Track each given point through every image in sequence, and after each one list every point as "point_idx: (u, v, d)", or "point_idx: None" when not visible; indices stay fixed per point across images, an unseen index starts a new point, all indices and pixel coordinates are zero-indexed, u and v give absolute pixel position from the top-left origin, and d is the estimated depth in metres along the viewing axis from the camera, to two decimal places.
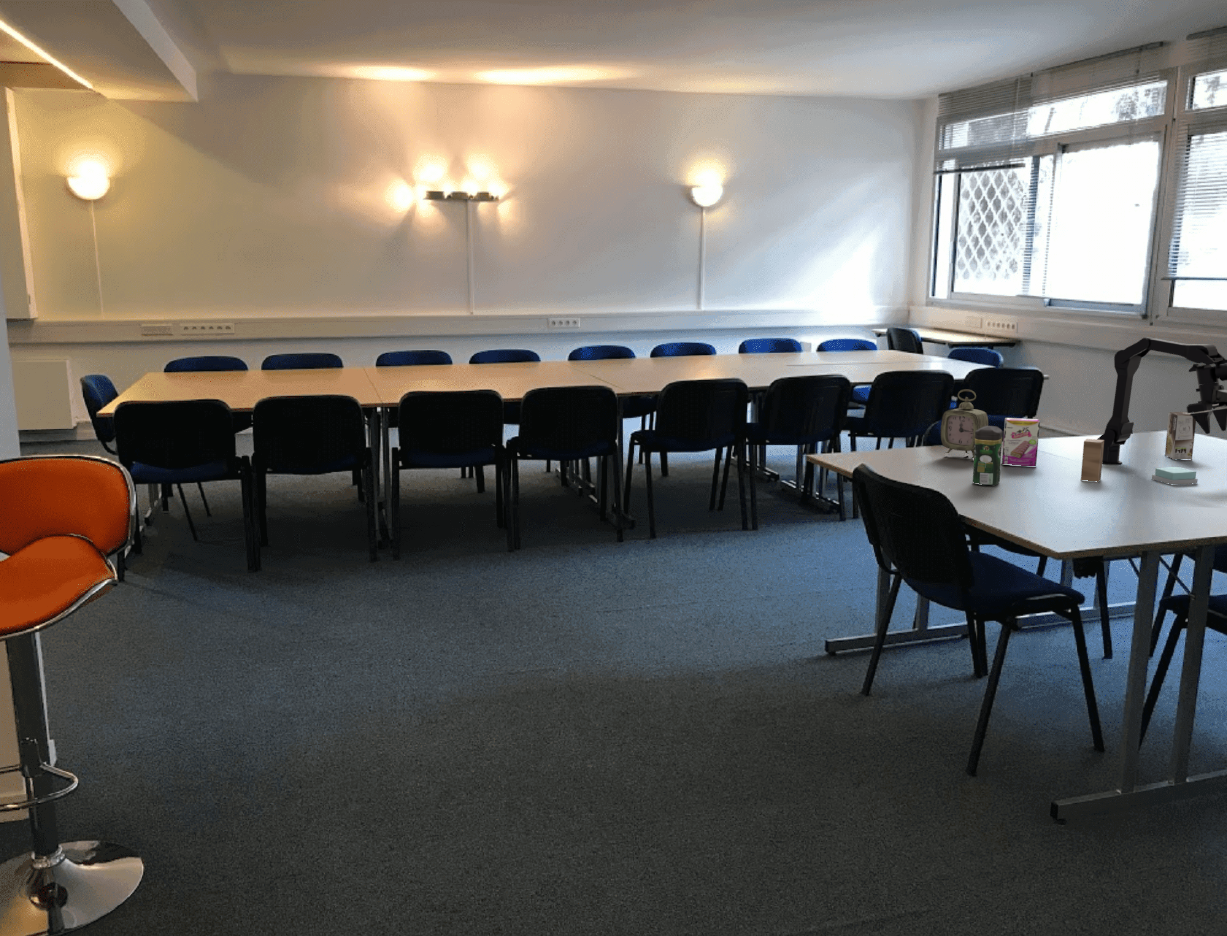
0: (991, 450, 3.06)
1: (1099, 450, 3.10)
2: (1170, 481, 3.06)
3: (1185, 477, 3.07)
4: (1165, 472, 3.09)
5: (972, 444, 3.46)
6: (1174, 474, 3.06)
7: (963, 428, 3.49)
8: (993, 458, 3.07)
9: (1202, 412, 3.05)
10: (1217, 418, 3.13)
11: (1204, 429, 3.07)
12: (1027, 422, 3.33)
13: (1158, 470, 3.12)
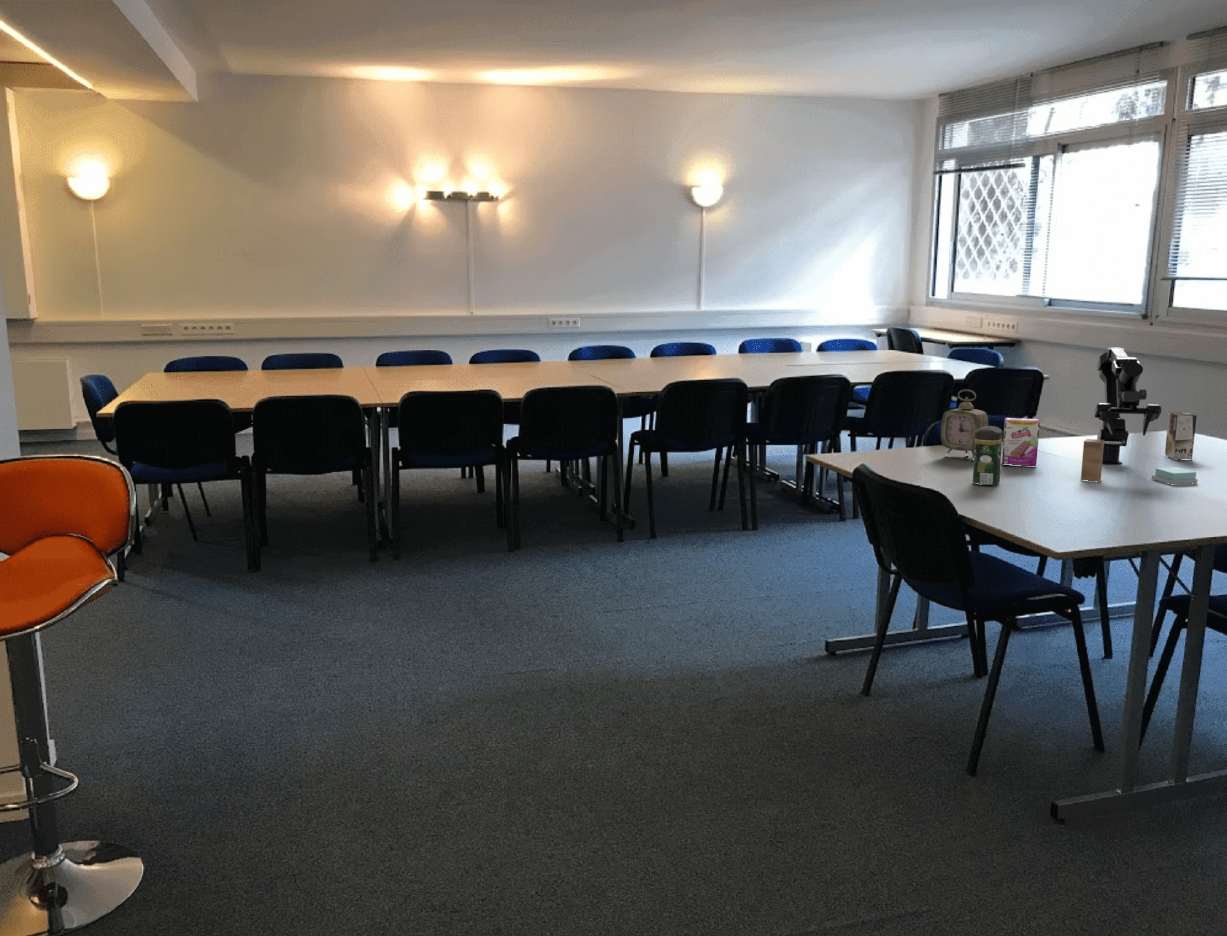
0: (991, 450, 3.06)
1: (1099, 450, 3.10)
2: (1170, 481, 3.06)
3: (1185, 477, 3.07)
4: (1165, 472, 3.09)
5: (972, 444, 3.46)
6: (1174, 474, 3.06)
7: (963, 428, 3.49)
8: (993, 458, 3.07)
9: (1101, 413, 3.17)
10: (1143, 425, 3.15)
11: (1109, 430, 3.16)
12: (1027, 422, 3.33)
13: (1158, 470, 3.12)
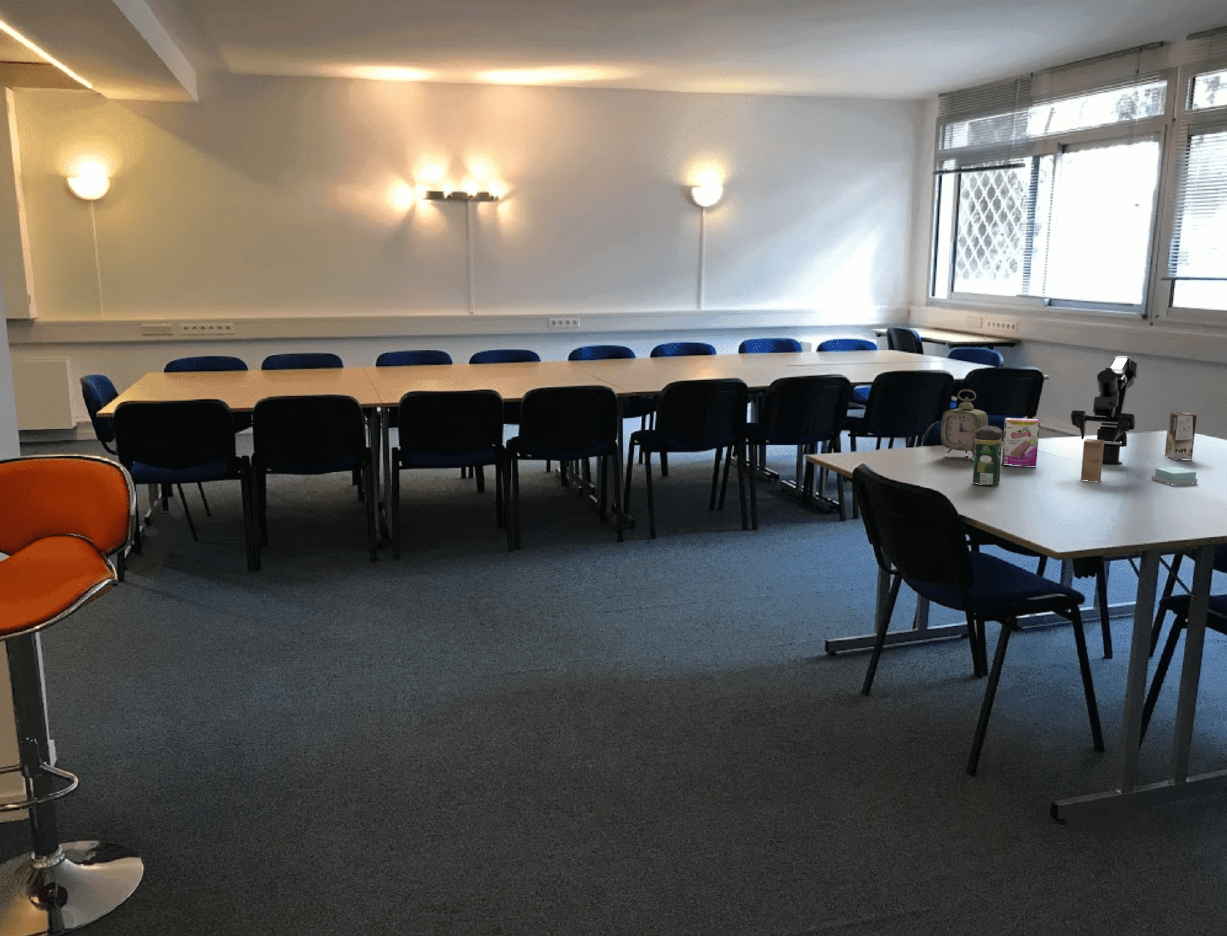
0: (991, 450, 3.06)
1: (1099, 450, 3.10)
2: (1170, 481, 3.06)
3: (1185, 477, 3.07)
4: (1165, 472, 3.09)
5: (972, 444, 3.46)
6: (1174, 474, 3.06)
7: (963, 428, 3.49)
8: (993, 458, 3.07)
9: None
10: None
11: (1081, 435, 3.22)
12: (1027, 422, 3.33)
13: (1158, 470, 3.12)
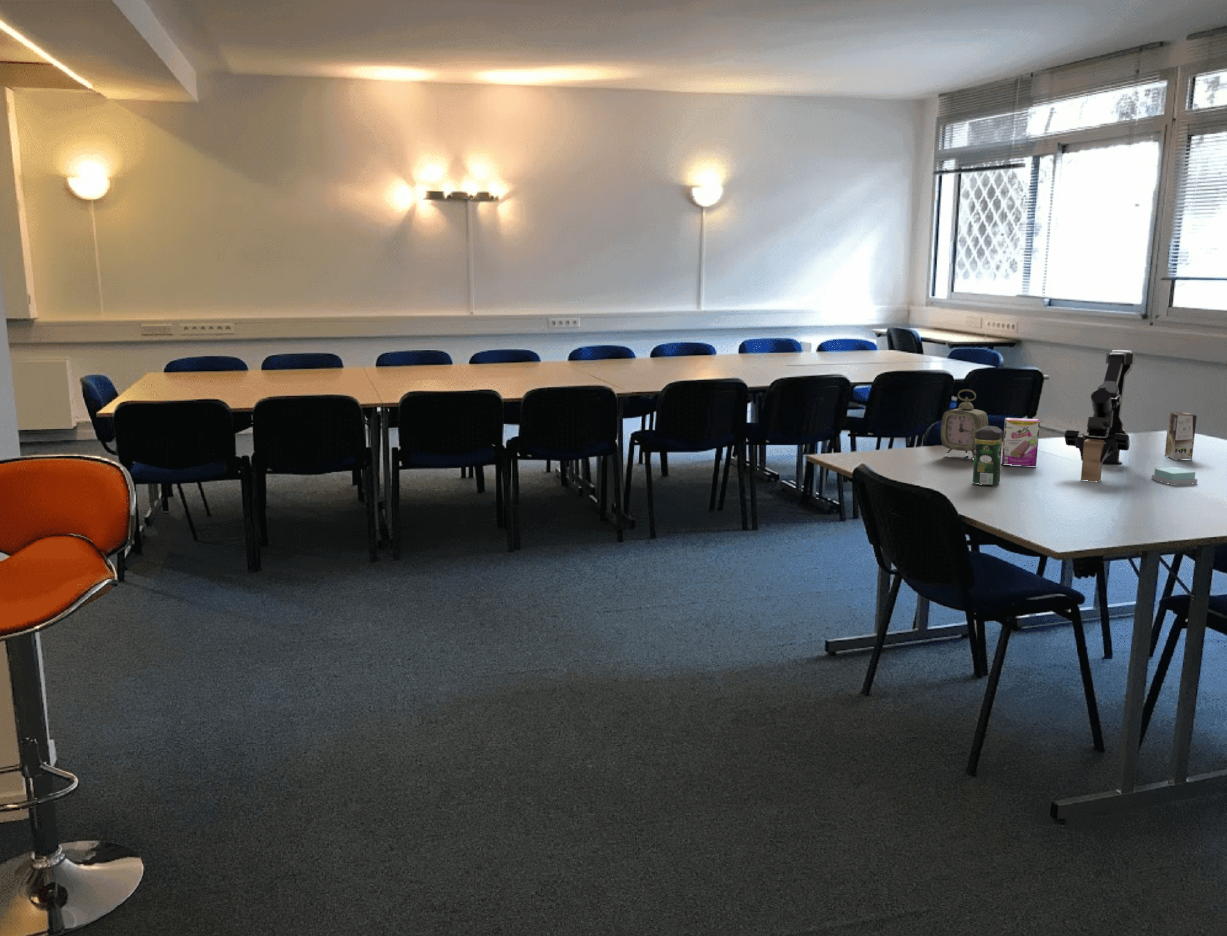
0: (991, 450, 3.06)
1: (1099, 450, 3.10)
2: (1170, 481, 3.06)
3: (1184, 477, 3.07)
4: (1164, 472, 3.09)
5: (972, 444, 3.46)
6: (1174, 474, 3.06)
7: (963, 428, 3.49)
8: (993, 458, 3.07)
9: None
10: None
11: None
12: (1027, 422, 3.33)
13: (1157, 470, 3.12)
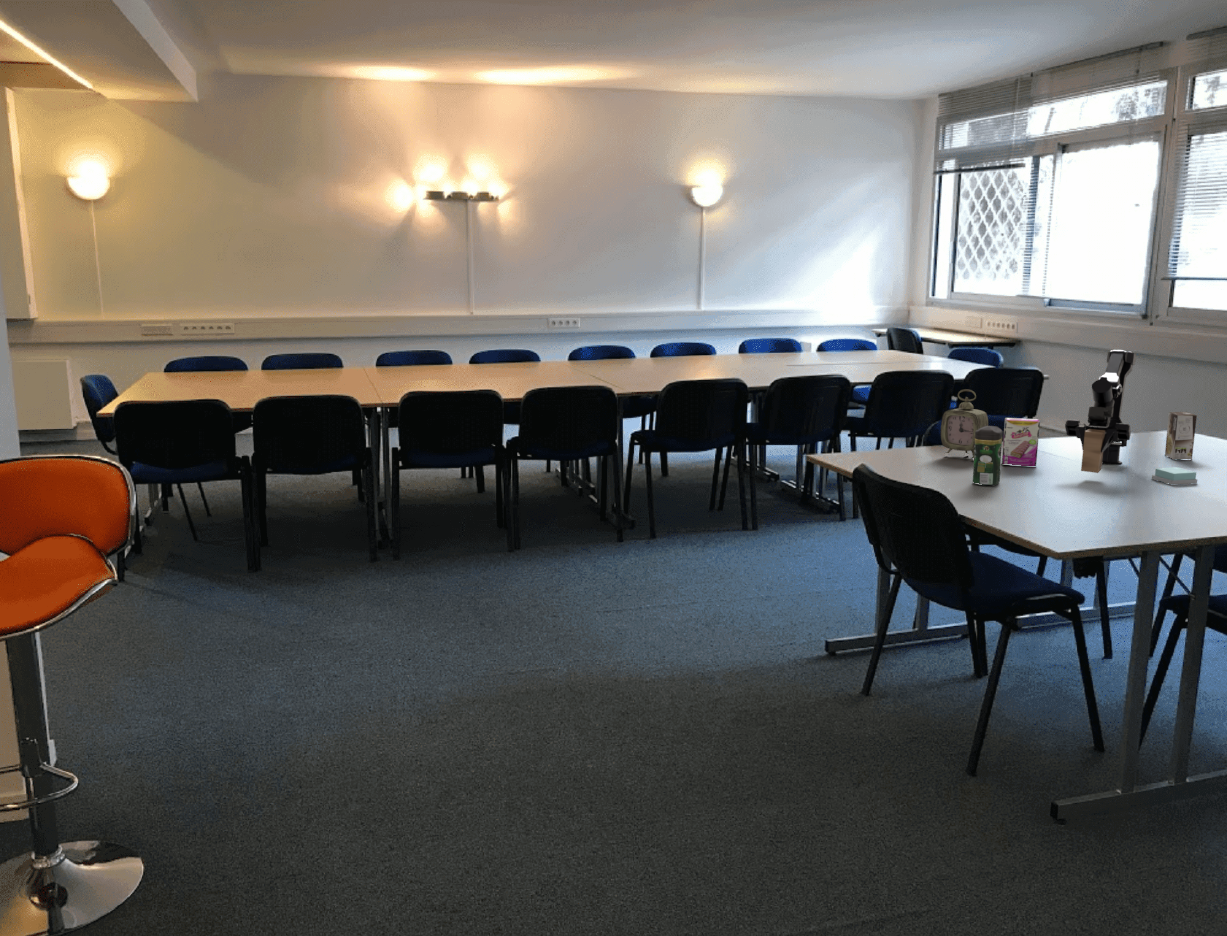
0: (991, 450, 3.06)
1: (1100, 440, 3.09)
2: (1170, 481, 3.07)
3: (1185, 478, 3.07)
4: (1165, 472, 3.09)
5: (972, 444, 3.46)
6: (1175, 475, 3.06)
7: (963, 428, 3.49)
8: (993, 458, 3.07)
9: None
10: None
11: None
12: (1027, 422, 3.33)
13: (1158, 470, 3.12)
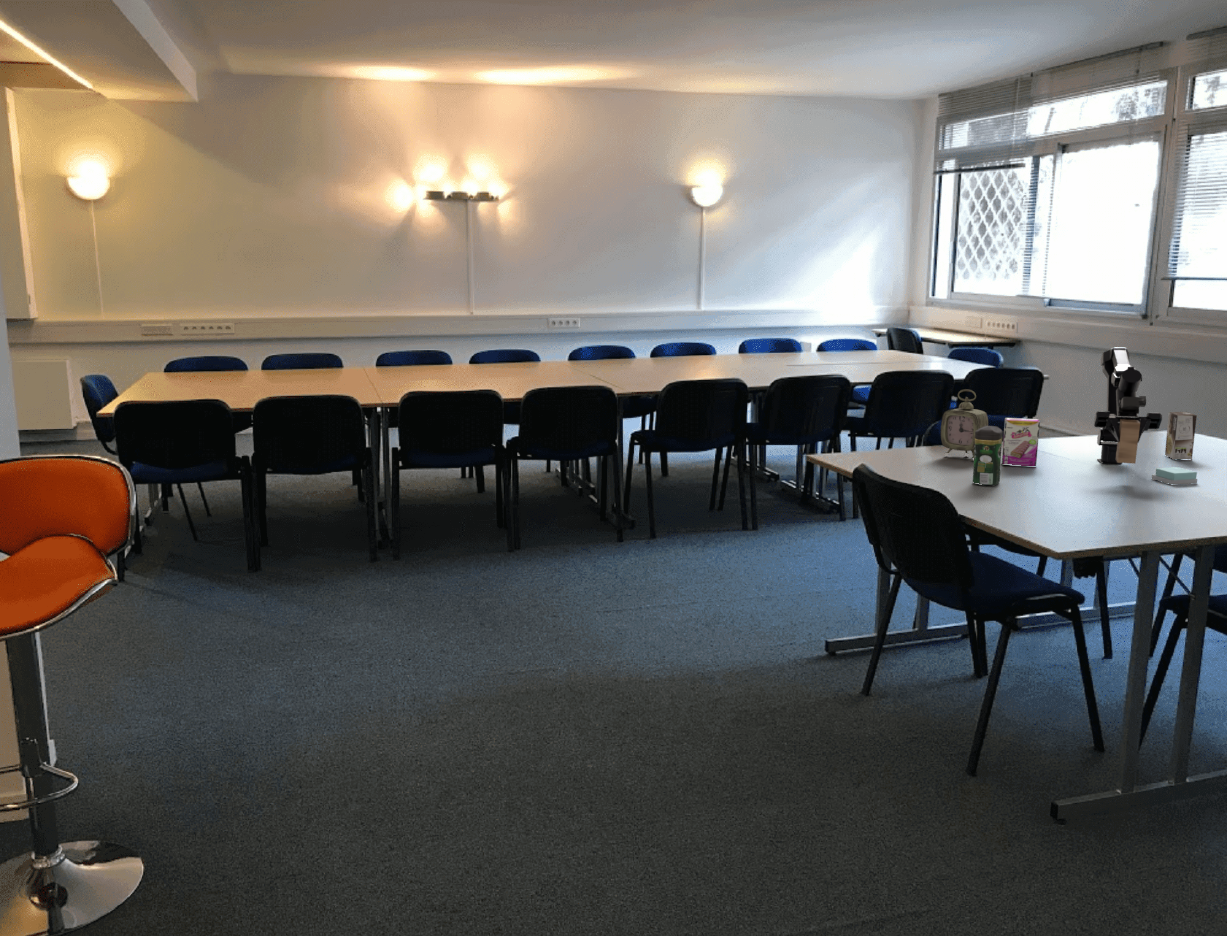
0: (991, 450, 3.06)
1: (1138, 431, 3.05)
2: (1170, 481, 3.06)
3: (1186, 477, 3.07)
4: (1166, 472, 3.09)
5: (972, 444, 3.46)
6: (1175, 474, 3.06)
7: (963, 428, 3.49)
8: (993, 458, 3.07)
9: (1107, 420, 3.12)
10: None
11: (1116, 438, 3.10)
12: (1027, 422, 3.33)
13: (1159, 470, 3.12)
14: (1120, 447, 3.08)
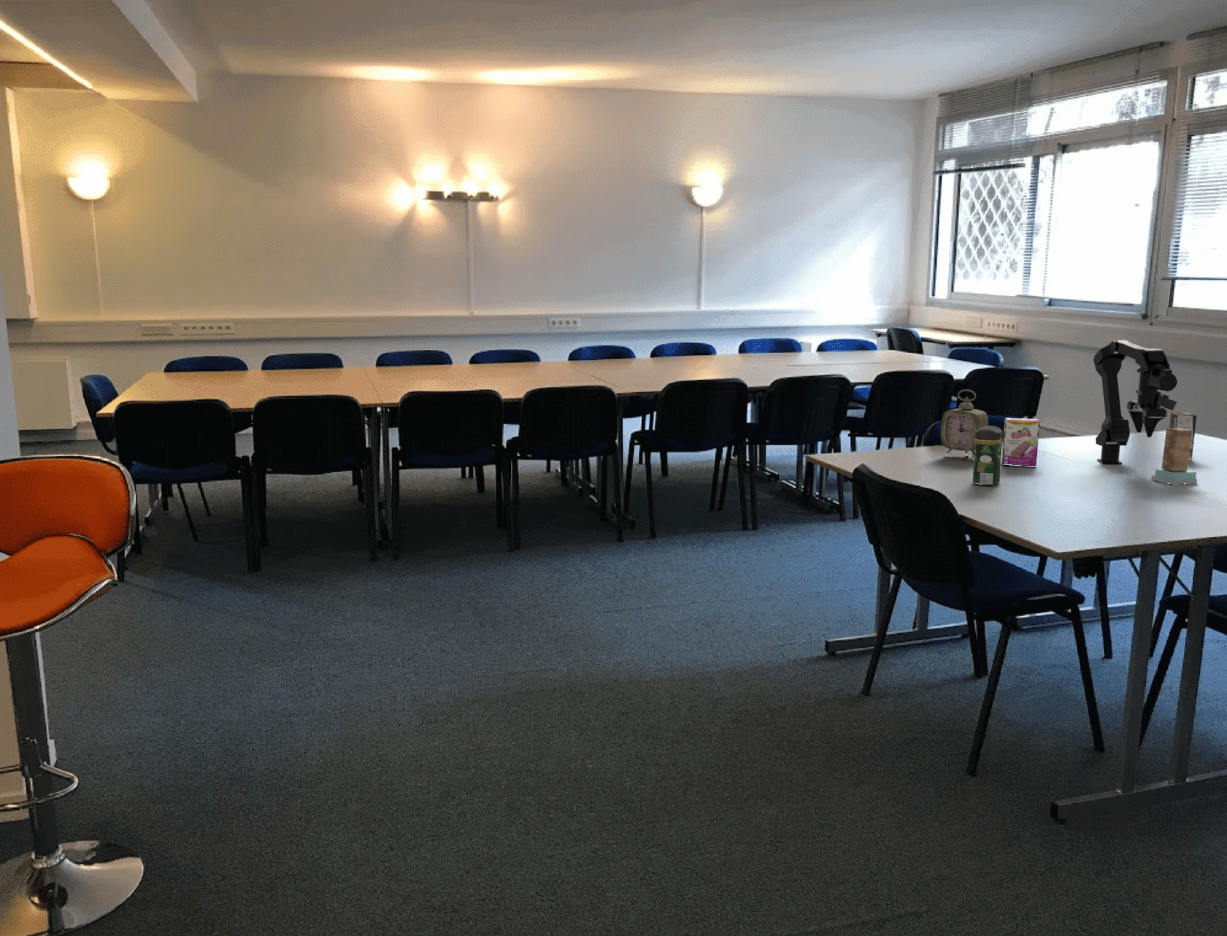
0: (991, 450, 3.06)
1: (1190, 438, 3.07)
2: (1170, 481, 3.07)
3: (1186, 477, 3.07)
4: (1167, 473, 3.09)
5: (972, 444, 3.46)
6: (1177, 475, 3.06)
7: (963, 428, 3.49)
8: (993, 458, 3.07)
9: (1159, 417, 3.12)
10: (1135, 419, 3.25)
11: (1148, 432, 3.16)
12: (1027, 422, 3.33)
13: (1158, 471, 3.12)
14: (1175, 455, 3.07)
